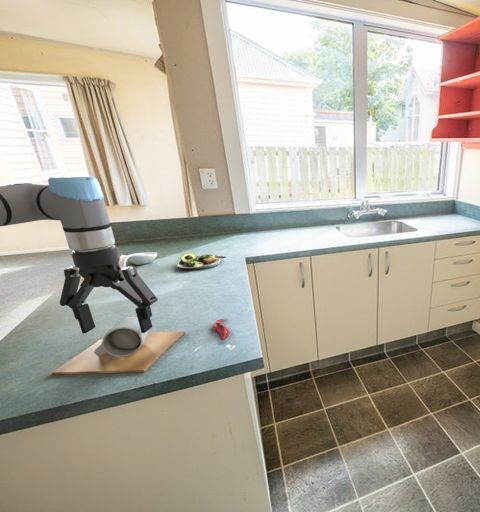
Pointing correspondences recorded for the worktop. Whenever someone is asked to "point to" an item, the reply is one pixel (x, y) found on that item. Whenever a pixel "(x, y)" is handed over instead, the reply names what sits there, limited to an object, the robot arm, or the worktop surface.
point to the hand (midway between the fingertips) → (118, 330)
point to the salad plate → (198, 261)
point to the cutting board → (136, 362)
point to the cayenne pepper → (221, 329)
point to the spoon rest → (137, 258)
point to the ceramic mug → (122, 339)
